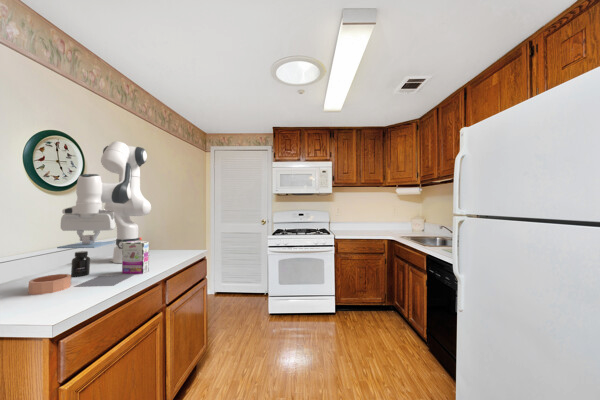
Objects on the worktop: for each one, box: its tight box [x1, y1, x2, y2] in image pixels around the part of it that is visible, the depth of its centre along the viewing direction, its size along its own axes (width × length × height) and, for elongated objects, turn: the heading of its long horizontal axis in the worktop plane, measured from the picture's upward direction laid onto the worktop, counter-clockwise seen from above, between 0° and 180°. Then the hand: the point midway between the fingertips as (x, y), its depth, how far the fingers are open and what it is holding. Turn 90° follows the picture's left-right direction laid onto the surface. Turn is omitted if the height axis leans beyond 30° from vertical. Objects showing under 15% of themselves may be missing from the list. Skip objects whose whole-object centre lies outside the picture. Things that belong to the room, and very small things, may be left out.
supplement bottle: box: [70, 250, 91, 278], centre depth 121 cm, size 7×7×12 cm
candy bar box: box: [121, 240, 150, 275], centre depth 127 cm, size 11×5×16 cm, turn 88°
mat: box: [73, 274, 135, 288], centre depth 113 cm, size 16×16×1 cm
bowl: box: [27, 273, 72, 296], centre depth 101 cm, size 12×12×5 cm
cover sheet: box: [56, 234, 116, 249], centre depth 109 cm, size 14×14×5 cm
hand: (88, 240), depth 109 cm, fingers closed on cover sheet, 3 cm apart
